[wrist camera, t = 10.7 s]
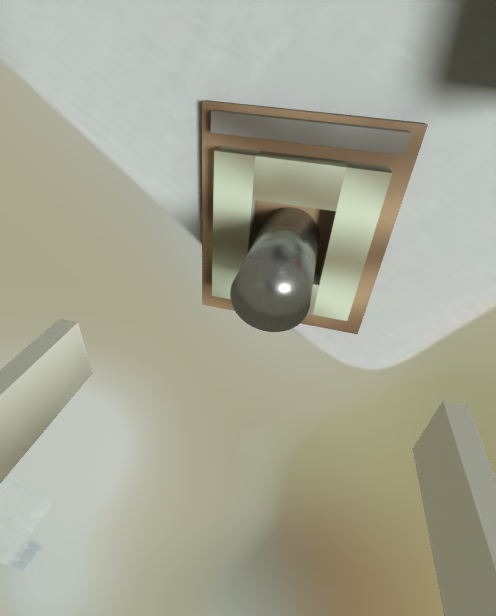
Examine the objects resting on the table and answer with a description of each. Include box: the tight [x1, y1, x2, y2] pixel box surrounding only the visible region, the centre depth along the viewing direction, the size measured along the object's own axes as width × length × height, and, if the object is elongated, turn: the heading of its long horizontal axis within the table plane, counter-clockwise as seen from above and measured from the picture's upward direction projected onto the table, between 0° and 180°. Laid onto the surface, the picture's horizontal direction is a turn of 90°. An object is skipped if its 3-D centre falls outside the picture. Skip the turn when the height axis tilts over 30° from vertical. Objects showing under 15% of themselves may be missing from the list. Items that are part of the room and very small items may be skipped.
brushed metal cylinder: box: [230, 208, 319, 332], centre depth 22 cm, size 4×4×9 cm
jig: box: [202, 101, 428, 334], centre depth 25 cm, size 16×14×3 cm
